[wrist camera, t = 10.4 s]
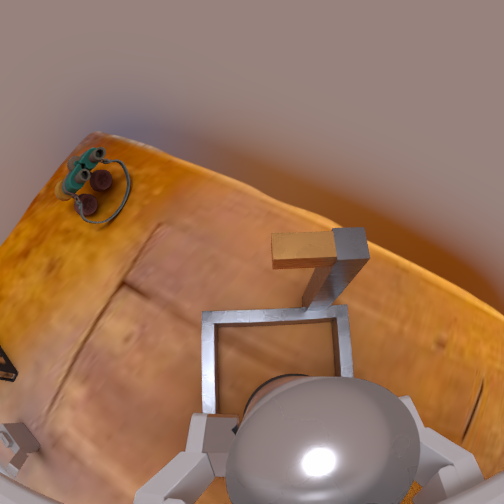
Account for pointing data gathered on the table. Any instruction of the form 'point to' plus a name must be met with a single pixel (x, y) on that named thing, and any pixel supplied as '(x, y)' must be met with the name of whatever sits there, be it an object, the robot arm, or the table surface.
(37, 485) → the table surface
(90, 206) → the binoculars
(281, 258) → the grey metal bar frame
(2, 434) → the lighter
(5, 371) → the ammunition clip
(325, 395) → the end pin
